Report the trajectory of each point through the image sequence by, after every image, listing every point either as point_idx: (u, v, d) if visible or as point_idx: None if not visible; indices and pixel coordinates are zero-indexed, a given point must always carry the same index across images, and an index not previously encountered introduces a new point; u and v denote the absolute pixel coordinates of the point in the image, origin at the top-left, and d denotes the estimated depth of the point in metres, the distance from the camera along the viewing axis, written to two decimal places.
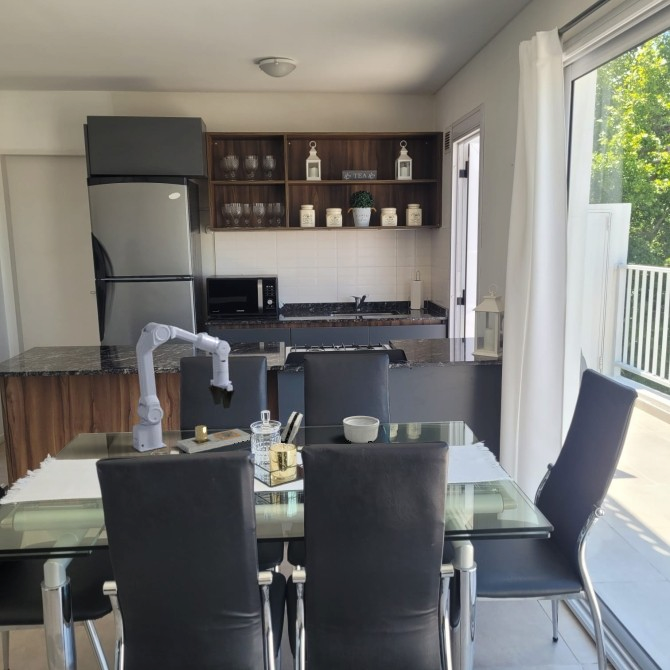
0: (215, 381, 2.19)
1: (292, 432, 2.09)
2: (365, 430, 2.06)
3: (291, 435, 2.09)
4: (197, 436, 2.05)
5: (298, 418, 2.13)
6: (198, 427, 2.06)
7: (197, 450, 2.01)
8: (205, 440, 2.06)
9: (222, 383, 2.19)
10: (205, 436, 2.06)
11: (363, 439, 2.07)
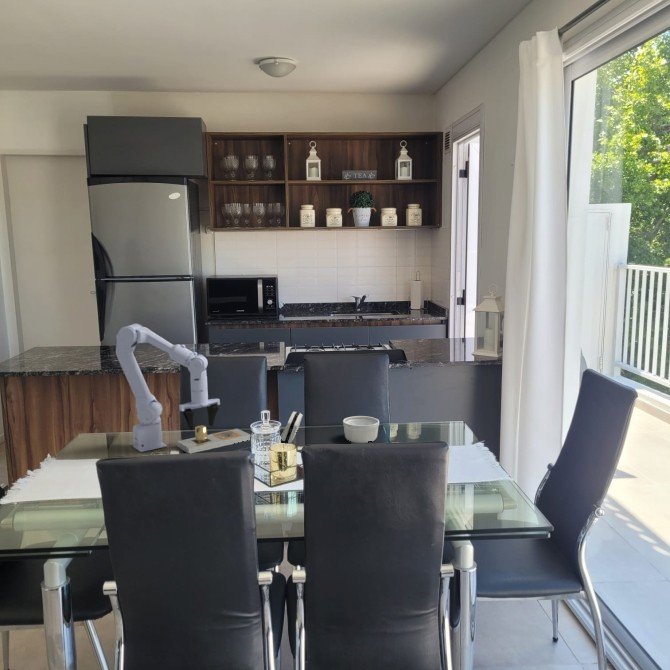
0: None
1: (292, 432, 2.09)
2: (365, 430, 2.06)
3: (291, 435, 2.09)
4: (197, 436, 2.05)
5: (298, 418, 2.13)
6: (198, 427, 2.06)
7: (197, 450, 2.01)
8: (205, 440, 2.06)
9: (191, 402, 2.04)
10: (205, 436, 2.06)
11: (363, 439, 2.07)
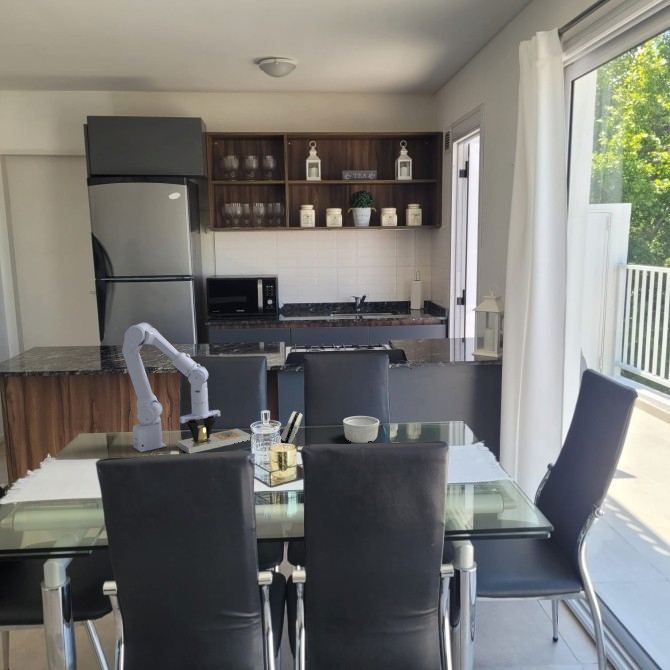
0: None
1: (293, 432, 2.09)
2: (365, 430, 2.06)
3: (292, 435, 2.09)
4: None
5: (298, 418, 2.14)
6: (198, 427, 2.06)
7: (197, 450, 2.01)
8: (205, 440, 2.06)
9: (192, 414, 2.05)
10: (205, 436, 2.06)
11: (363, 439, 2.07)
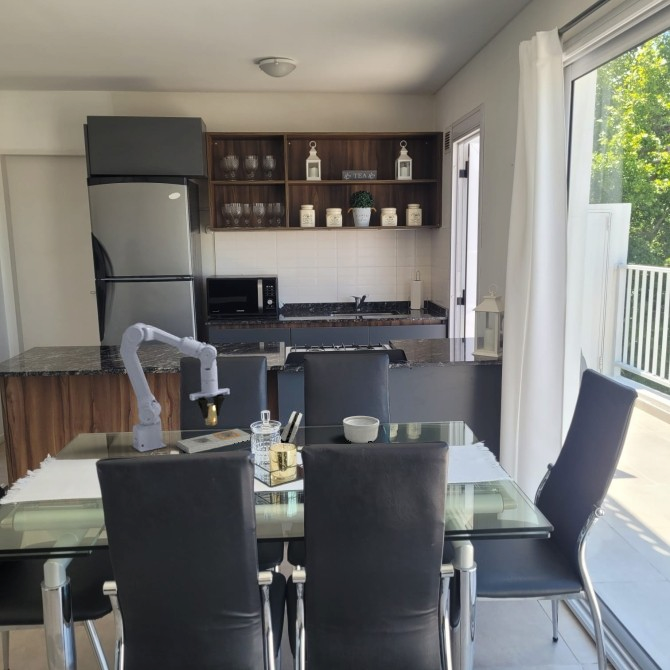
0: None
1: (293, 432, 2.10)
2: (365, 430, 2.06)
3: (292, 435, 2.10)
4: (207, 414, 2.06)
5: (298, 418, 2.14)
6: (208, 405, 2.07)
7: (197, 450, 2.01)
8: (215, 418, 2.07)
9: (201, 391, 2.06)
10: (215, 414, 2.07)
11: (363, 439, 2.07)
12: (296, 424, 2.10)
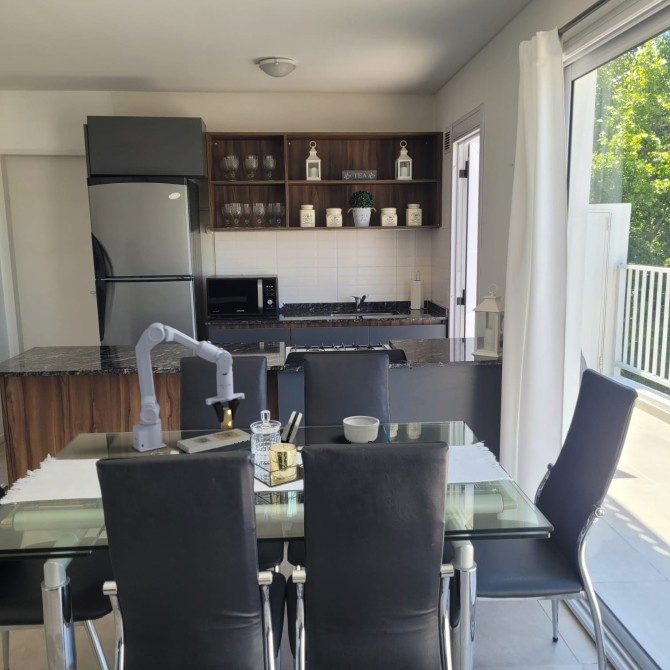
0: None
1: (293, 431, 2.10)
2: (365, 430, 2.06)
3: (292, 434, 2.10)
4: None
5: (299, 417, 2.14)
6: (223, 409, 2.11)
7: (197, 450, 2.01)
8: (230, 422, 2.11)
9: (217, 396, 2.10)
10: (230, 418, 2.11)
11: (363, 439, 2.07)
12: (296, 424, 2.10)
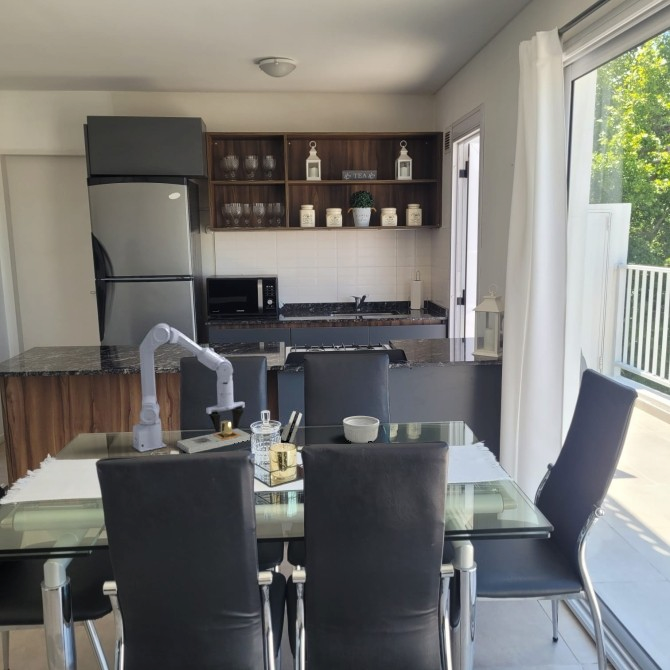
0: None
1: (294, 431, 2.10)
2: (365, 430, 2.06)
3: (293, 434, 2.10)
4: (223, 431, 2.11)
5: (299, 417, 2.14)
6: (224, 422, 2.12)
7: (197, 450, 2.01)
8: (230, 435, 2.12)
9: (217, 405, 2.10)
10: (230, 431, 2.12)
11: (363, 439, 2.07)
12: (297, 424, 2.10)
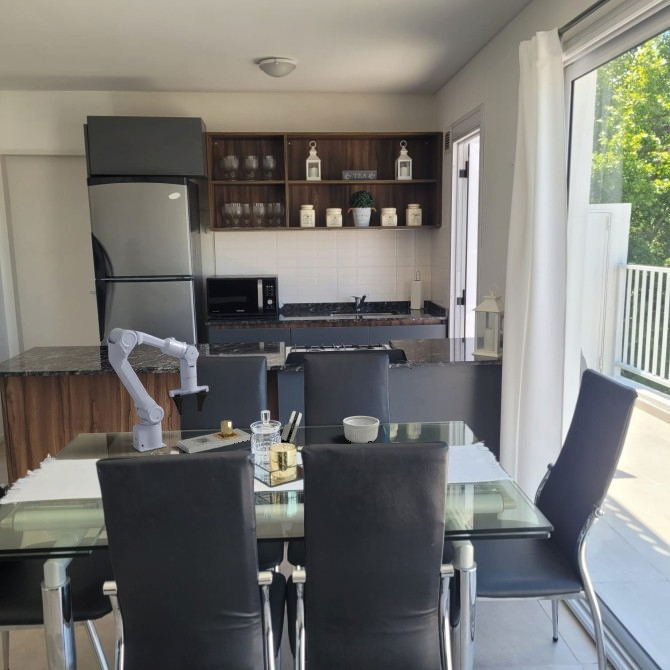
0: None
1: (294, 431, 2.10)
2: (365, 430, 2.06)
3: (293, 434, 2.10)
4: (223, 431, 2.11)
5: (299, 417, 2.14)
6: (224, 422, 2.12)
7: (197, 450, 2.01)
8: (230, 435, 2.12)
9: (181, 388, 2.14)
10: (230, 431, 2.12)
11: (363, 439, 2.07)
12: (297, 424, 2.10)
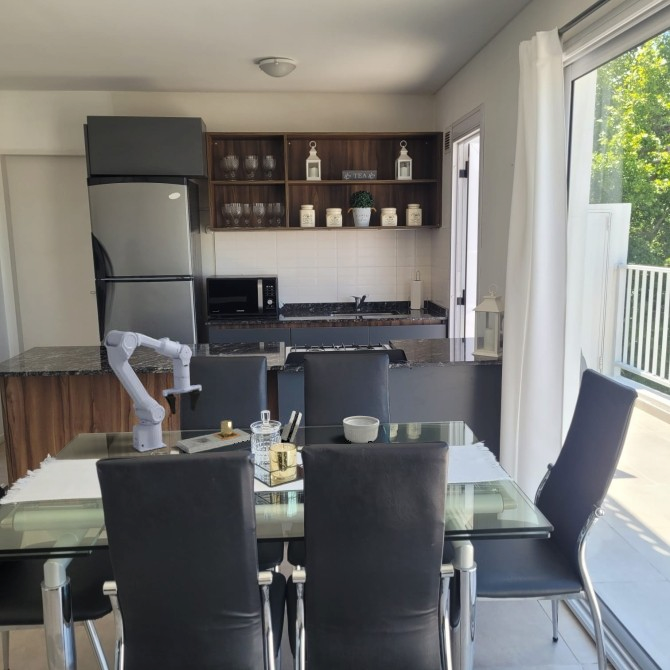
0: None
1: (294, 431, 2.10)
2: (365, 430, 2.06)
3: (293, 434, 2.10)
4: (223, 431, 2.11)
5: (299, 417, 2.15)
6: (224, 422, 2.12)
7: (197, 450, 2.01)
8: (230, 435, 2.12)
9: (174, 388, 2.15)
10: (230, 431, 2.12)
11: (363, 439, 2.07)
12: (297, 423, 2.11)
